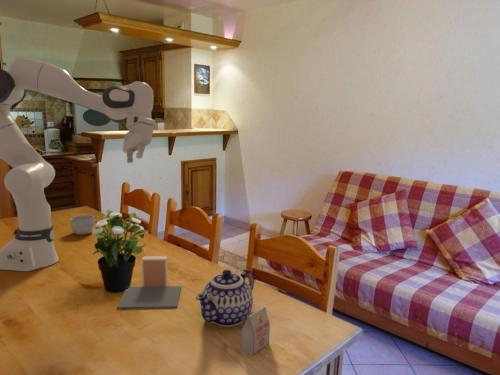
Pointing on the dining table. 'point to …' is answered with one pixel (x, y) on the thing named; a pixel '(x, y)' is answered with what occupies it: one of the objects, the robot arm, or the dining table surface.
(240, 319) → the teapot
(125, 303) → the slate mat
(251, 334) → the grey gable-top carton
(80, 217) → the teacup
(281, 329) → the dining table surface
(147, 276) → the ceramic tile
